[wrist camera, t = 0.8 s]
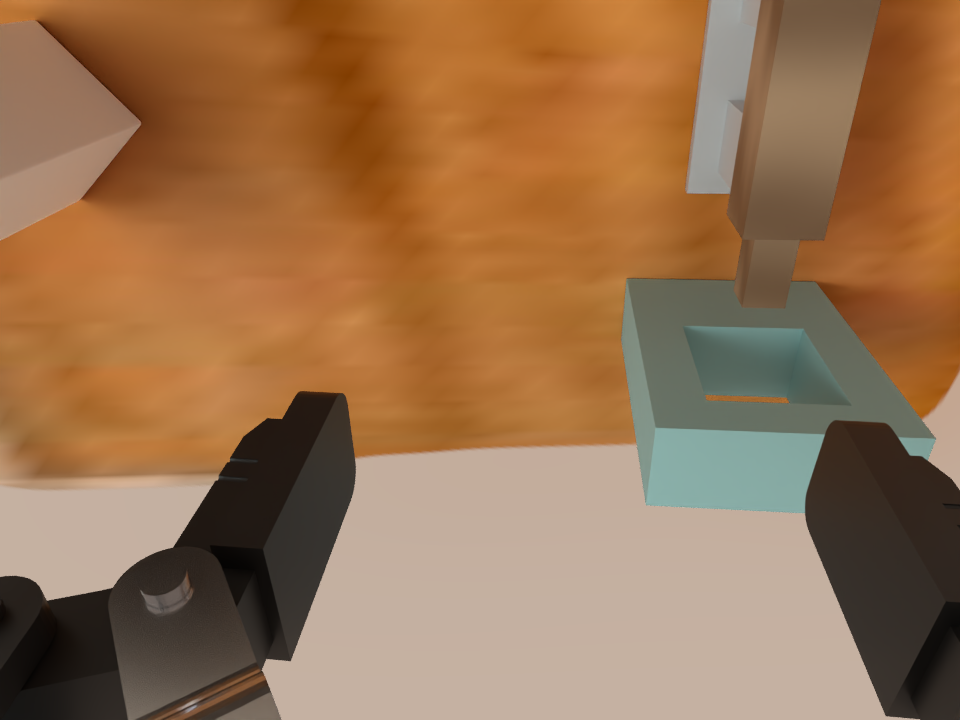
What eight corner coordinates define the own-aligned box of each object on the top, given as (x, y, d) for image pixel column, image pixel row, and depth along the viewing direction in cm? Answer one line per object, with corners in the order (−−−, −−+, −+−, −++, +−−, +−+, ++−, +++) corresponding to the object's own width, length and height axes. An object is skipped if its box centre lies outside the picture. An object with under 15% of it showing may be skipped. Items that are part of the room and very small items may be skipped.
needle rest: (721, -97, 26) (752, -106, 22) (842, -101, 26) (897, -112, 21) (685, 189, 32) (704, 226, 27) (784, 189, 31) (819, 227, 27)
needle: (816, -348, 19) (854, -394, 16) (923, -355, 19) (980, -404, 16) (715, 283, 29) (730, 316, 26) (785, 285, 28) (807, 317, 26)
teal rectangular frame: (626, 278, 34) (655, 427, 23) (815, 281, 33) (936, 438, 22) (621, 339, 36) (645, 505, 25) (800, 344, 35) (905, 518, 24)
